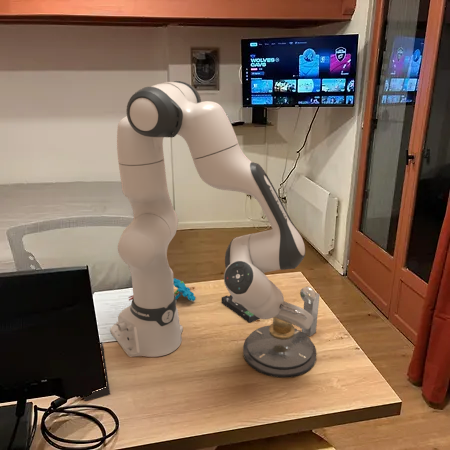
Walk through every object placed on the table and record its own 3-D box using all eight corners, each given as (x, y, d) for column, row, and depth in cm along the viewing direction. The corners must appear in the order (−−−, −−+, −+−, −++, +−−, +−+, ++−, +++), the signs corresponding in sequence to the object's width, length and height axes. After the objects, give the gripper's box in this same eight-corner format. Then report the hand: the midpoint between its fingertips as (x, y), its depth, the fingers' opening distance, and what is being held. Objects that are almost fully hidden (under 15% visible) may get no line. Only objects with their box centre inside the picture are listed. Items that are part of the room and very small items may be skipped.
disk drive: (220, 304, 149) (250, 324, 138) (220, 297, 148) (250, 316, 137) (244, 295, 155) (274, 313, 144) (244, 288, 154) (274, 305, 143)
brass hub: (264, 331, 123) (264, 305, 120) (281, 322, 127) (282, 297, 124) (282, 342, 118) (283, 316, 115) (299, 332, 122) (301, 307, 119)
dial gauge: (293, 335, 133) (296, 287, 127) (305, 327, 137) (309, 280, 131) (306, 342, 130) (310, 293, 124) (318, 333, 134) (323, 286, 128)
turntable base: (228, 352, 125) (228, 348, 124) (274, 324, 138) (274, 319, 137) (285, 389, 112) (286, 383, 111) (330, 353, 125) (330, 348, 124)
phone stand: (80, 378, 115) (74, 338, 110) (104, 372, 117) (99, 333, 113) (84, 402, 107) (79, 360, 103) (110, 395, 109) (105, 354, 105)
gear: (198, 302, 146) (175, 283, 144) (185, 315, 147) (162, 296, 144) (195, 290, 157) (174, 271, 154) (184, 302, 157) (162, 284, 155)
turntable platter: (233, 347, 124) (233, 343, 124) (274, 321, 136) (274, 317, 136) (285, 379, 112) (285, 374, 112) (325, 348, 124) (326, 343, 124)
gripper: (307, 301, 105) (323, 318, 116) (236, 276, 117) (257, 294, 128) (297, 326, 103) (314, 341, 114) (226, 298, 115) (247, 315, 126)
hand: (283, 316), depth 121 cm, fingers closed on brass hub, 5 cm apart
